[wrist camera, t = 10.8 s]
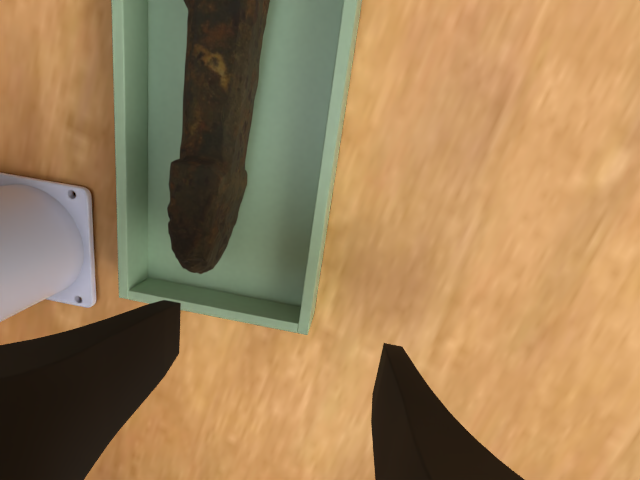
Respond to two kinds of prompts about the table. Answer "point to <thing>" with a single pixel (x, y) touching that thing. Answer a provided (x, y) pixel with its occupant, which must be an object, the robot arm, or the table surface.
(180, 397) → the table surface
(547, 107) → the table surface
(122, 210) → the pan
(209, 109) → the hand tool
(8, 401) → the robot arm
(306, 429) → the table surface
